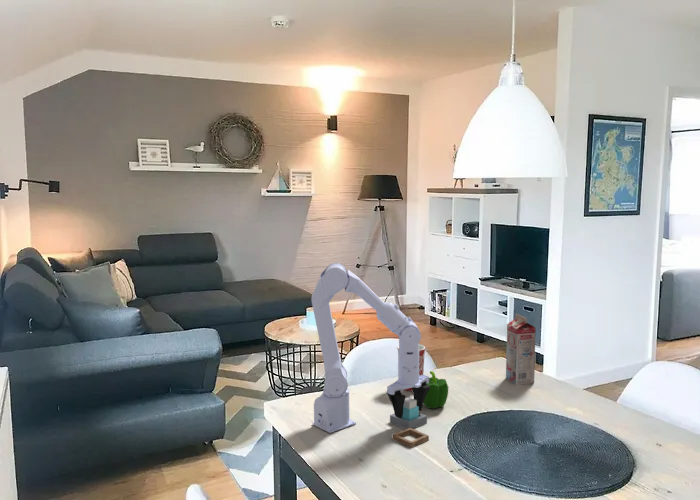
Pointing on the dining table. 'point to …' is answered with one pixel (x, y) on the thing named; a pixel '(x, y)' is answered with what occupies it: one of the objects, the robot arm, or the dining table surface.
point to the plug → (410, 409)
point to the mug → (421, 362)
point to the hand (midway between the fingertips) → (408, 413)
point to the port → (409, 424)
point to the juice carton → (520, 351)
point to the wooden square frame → (412, 443)
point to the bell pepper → (436, 392)
